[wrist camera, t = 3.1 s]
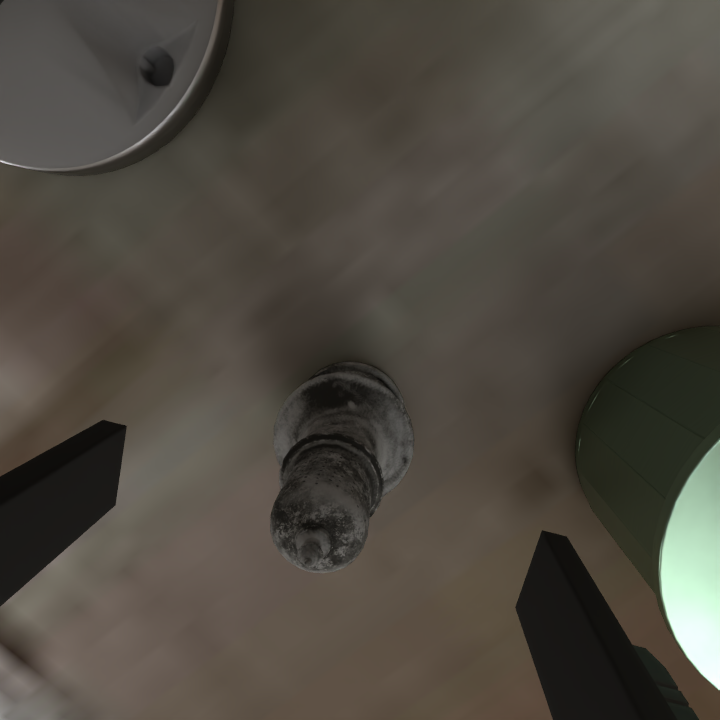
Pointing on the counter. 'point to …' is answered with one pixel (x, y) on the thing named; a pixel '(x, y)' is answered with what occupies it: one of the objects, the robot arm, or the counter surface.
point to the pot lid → (692, 559)
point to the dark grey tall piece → (337, 463)
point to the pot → (647, 433)
